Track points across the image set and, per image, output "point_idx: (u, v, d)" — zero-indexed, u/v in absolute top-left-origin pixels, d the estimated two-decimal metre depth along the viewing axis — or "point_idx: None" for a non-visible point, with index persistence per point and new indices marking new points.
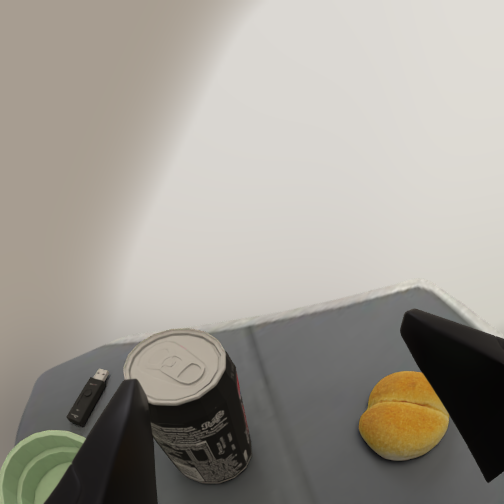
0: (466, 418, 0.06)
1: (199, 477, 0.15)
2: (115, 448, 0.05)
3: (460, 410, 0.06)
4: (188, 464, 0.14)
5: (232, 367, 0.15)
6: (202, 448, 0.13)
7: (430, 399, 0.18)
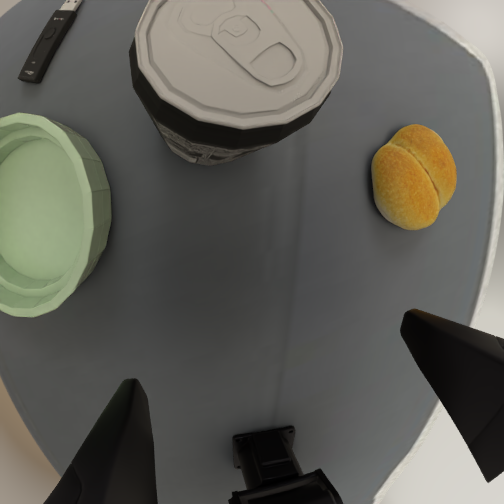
0: (466, 418, 0.06)
1: (192, 161, 0.16)
2: (115, 448, 0.05)
3: (460, 410, 0.06)
4: (192, 156, 0.13)
5: None
6: (229, 155, 0.11)
7: (443, 189, 0.19)
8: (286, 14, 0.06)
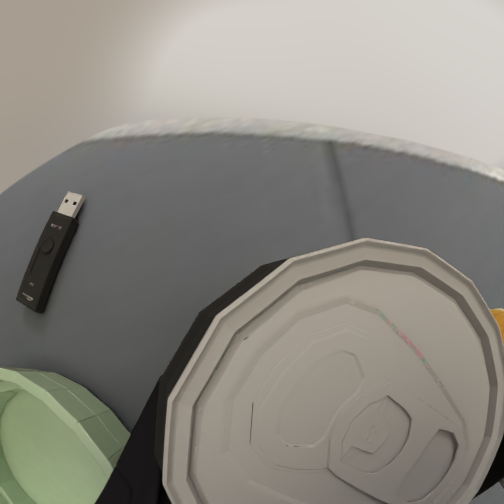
0: None
1: None
2: None
3: None
4: None
5: None
6: None
7: None
8: (444, 357, 0.03)
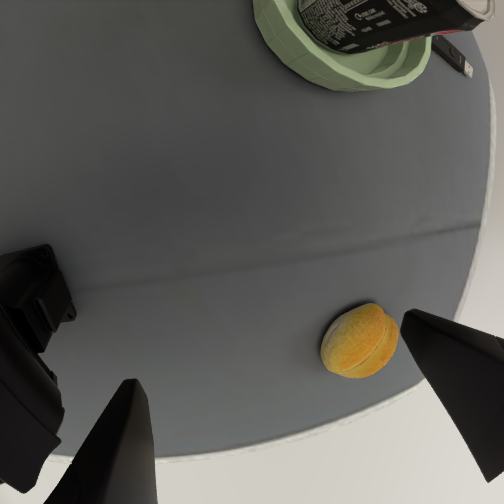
0: (466, 418, 0.06)
1: (305, 5, 0.12)
2: (115, 448, 0.05)
3: (460, 410, 0.06)
4: None
5: (472, 26, 0.06)
6: None
7: (363, 367, 0.25)
8: None
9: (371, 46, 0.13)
